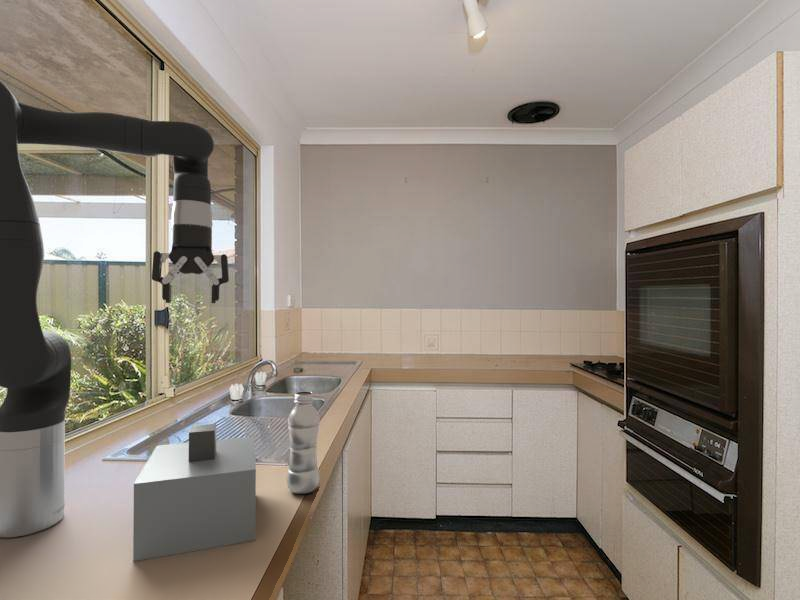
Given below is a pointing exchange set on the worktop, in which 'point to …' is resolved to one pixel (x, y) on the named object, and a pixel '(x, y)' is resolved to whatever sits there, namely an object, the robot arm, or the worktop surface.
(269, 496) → the worktop surface
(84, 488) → the worktop surface
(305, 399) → the plastic bottle
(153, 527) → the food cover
